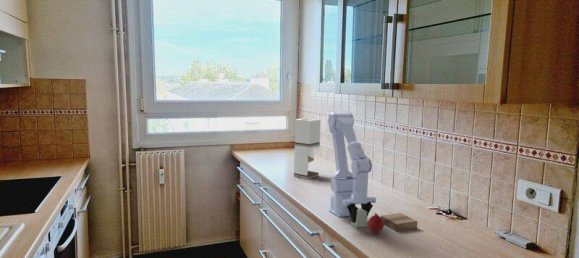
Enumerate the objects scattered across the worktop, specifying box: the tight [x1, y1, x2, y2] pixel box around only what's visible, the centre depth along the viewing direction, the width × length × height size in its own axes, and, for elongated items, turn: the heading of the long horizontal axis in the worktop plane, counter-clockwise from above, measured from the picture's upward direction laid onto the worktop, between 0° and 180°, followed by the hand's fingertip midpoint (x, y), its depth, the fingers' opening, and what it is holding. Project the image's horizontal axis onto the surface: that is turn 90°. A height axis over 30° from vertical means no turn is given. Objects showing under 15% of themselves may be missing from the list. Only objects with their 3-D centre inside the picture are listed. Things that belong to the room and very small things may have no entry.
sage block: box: [350, 207, 368, 228], centre depth 151 cm, size 4×4×6 cm
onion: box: [367, 212, 385, 235], centre depth 142 cm, size 6×6×8 cm
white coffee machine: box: [293, 117, 322, 180], centre depth 230 cm, size 11×11×35 cm
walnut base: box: [380, 212, 418, 233], centre depth 151 cm, size 10×10×3 cm
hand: (358, 221), depth 151 cm, fingers closed on sage block, 4 cm apart
